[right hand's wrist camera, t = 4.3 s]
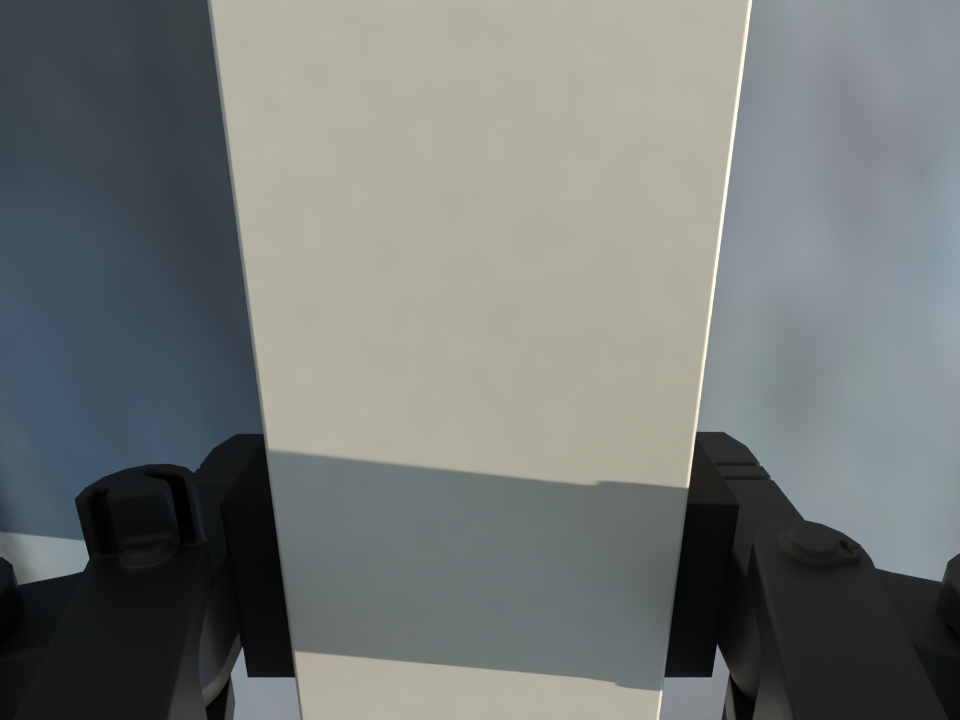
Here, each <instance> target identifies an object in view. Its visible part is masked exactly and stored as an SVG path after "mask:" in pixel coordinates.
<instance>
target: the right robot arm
mask: <svg viewBox="0 0 960 720" xmlns="http://www.w3.org/2000/svg"><path fill="white" fill-rule="evenodd" d="M770 478H771V477H770V475H769V474H768V473H767V472H766V470H765V469H764V468H763V467H762V466H760V463H759V462H758V460H757V459H756V458H755V456H754V455H753V454H752V453H751V451H750V450H749V449H748V448H747V446H745V445H744V444H742V443H740V442H739V441H737V440H735V439H734V438H732V437H731V436H729V435H727V434H726V433H724V432H696V436H695V444H694V451H693V459H692V467H691V475H690V482H689V490H688V498H687V505H686V513H685V521H684V529H683V536H682V544H681V552H680V559H679V567H678V575H677V583H676V590H675V598H674V606H673V613H672V621H671V629H670V637H669V644H668V652H667V660H666V667H665V675H664V677H712V672H713V666H714V660H715V654H716V648H717V644H718V646H719V649H720V651H721V653H722V655H723V658H724V660H725V662H726V664H727V667H728V669H729V671H730V674H729V679H728V685H727V691H726V697H725V702H724V708H723V714H722V719H721V720H960V554H958V555H956V556H955V557H954V558H952V559H951V560H950V561H949V562H948V564H947V567H946V570H945V574H944V577H943V580H942V582H938V581H933V580H928V579H923V578H918V577H913V576H908V575H902V574H897V573H892V572H888V571H884V570H880V569H876V568H875V566H874V564H873V562H872V560H871V558H870V557H869V555H868V554H867V553H866V552H865V550H864V549H863V548H862V547H861V545H860V544H858V543H857V542H855V541H854V540H852V539H851V538H849V537H848V536H846V535H845V534H844V533H842V532H839V531H837V530H835V529H832V528H830V527H827V526H825V525H823V524H819V523H815V522H810V521H806V520H804V519H803V517H802V516H801V515H800V514H799V512H798V511H797V510H796V509H795V507H794V506H793V505H792V503H791V502H790V501H789V500H788V498H787V497H786V496H785V495H784V493H783V492H782V491H781V489H780V488H779V487H778V486H777V484H776V483H775V482H774V481H773V480H771V479H770ZM75 503H76V507H77V511H78V515H79V519H80V523H81V527H82V531H83V535H84V538H85V542H86V546H87V550H88V554H89V558H90V559H89V561H88V563H87V565H86V567H85V570H84V571H83V572H79V573H75V574H72V575H67V576H62V577H57V578H52V579H47V580H42V581H37V582H32V583H27V584H22V585H18V582H17V579H16V576H15V572H14V569H13V566H12V564H10V563H9V562H8V561H6V560H5V559H4V558H3V557H0V720H233V716H234V708H235V698H234V691H233V685H232V679H231V671H232V669H233V667H234V665H235V662H236V660H237V658H238V656H239V653H240V651H241V649H242V646H243V650H244V656H245V662H246V669H247V675H248V677H295V671H294V664H293V656H292V648H291V641H290V633H289V625H288V618H287V610H286V602H285V595H284V587H283V579H282V571H281V564H280V556H279V548H278V541H277V533H276V525H275V518H274V510H273V502H272V495H271V487H270V479H269V471H268V464H267V456H266V448H265V441H264V434H236V435H234V436H233V437H231V438H230V439H228V440H226V441H225V442H223V443H222V444H220V445H218V446H217V447H215V448H213V450H212V451H211V452H210V454H209V455H208V456H207V457H206V459H205V460H204V461H203V463H202V464H201V465H200V469H197V470H196V471H195V473H193V472H191V471H190V470H189V469H187V468H186V467H181V466H177V465H172V464H149V465H144V466H139V467H134V468H128V469H125V470H122V471H119V472H116V473H114V474H111V475H108V476H105V477H103V478H101V479H100V480H98V481H96V482H95V483H93V484H91V485H89V486H88V487H86V488H85V489H84V490H83V491H82V492H81V493H80V494H79V495H78V496H77V497H76V498H75Z"/></svg>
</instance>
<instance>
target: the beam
mask: <svg viewBox="0 0 960 720" xmlns="http://www.w3.org/2000/svg"><path fill="white" fill-rule="evenodd" d="M207 2H208V10H209V18H210V25H211V33H212V41H213V48H214V56H215V64H216V71H217V79H218V87H219V95H220V102H221V110H222V118H223V125H224V133H225V141H226V148H227V156H228V164H229V171H230V179H231V187H232V195H233V202H234V210H235V218H236V225H237V233H238V241H239V248H240V256H241V264H242V271H243V279H244V287H245V295H246V302H247V310H248V318H249V325H250V333H251V341H252V348H253V356H254V364H255V371H256V379H257V387H258V395H259V402H260V410H261V418H262V425H263V433H264V441H265V448H266V456H267V464H268V471H269V479H270V487H271V495H272V502H273V510H274V518H275V525H276V533H277V541H278V548H279V556H280V564H281V571H282V579H283V587H284V595H285V602H286V610H287V618H288V625H289V633H290V641H291V648H292V656H293V664H294V671H295V679H296V687H297V695H298V702H299V710H300V718H301V720H659V714H660V706H661V698H662V691H663V683H664V675H665V667H666V660H667V652H668V644H669V637H670V629H671V621H672V613H673V606H674V598H675V590H676V583H677V575H678V567H679V559H680V552H681V544H682V536H683V529H684V521H685V513H686V505H687V498H688V490H689V482H690V475H691V467H692V459H693V451H694V444H695V436H696V428H697V421H698V413H699V405H700V397H701V390H702V382H703V374H704V367H705V359H706V351H707V343H708V336H709V328H710V320H711V313H712V305H713V297H714V289H715V282H716V274H717V266H718V259H719V251H720V243H721V235H722V228H723V220H724V212H725V205H726V197H727V189H728V181H729V174H730V166H731V158H732V151H733V143H734V135H735V127H736V120H737V112H738V104H739V97H740V89H741V81H742V73H743V66H744V58H745V50H746V43H747V35H748V27H749V19H750V12H751V4H752V0H207Z"/></svg>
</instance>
